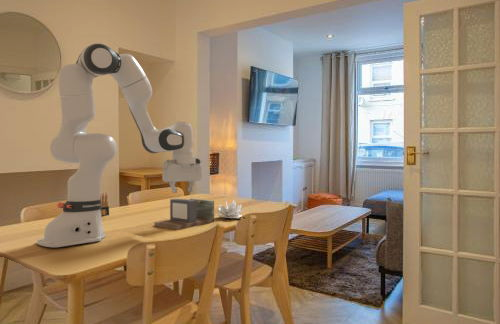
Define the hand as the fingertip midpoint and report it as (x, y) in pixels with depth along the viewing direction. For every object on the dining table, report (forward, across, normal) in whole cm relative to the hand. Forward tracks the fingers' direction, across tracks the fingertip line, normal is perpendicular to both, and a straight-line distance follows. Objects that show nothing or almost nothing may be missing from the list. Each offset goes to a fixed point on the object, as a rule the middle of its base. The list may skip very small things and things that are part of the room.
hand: (182, 192), depth 158 cm
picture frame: (+12, +1, 0) cm, 13 cm away
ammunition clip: (+14, -12, +44) cm, 48 cm away
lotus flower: (+14, +25, -7) cm, 29 cm away
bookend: (+14, +2, 0) cm, 14 cm away
